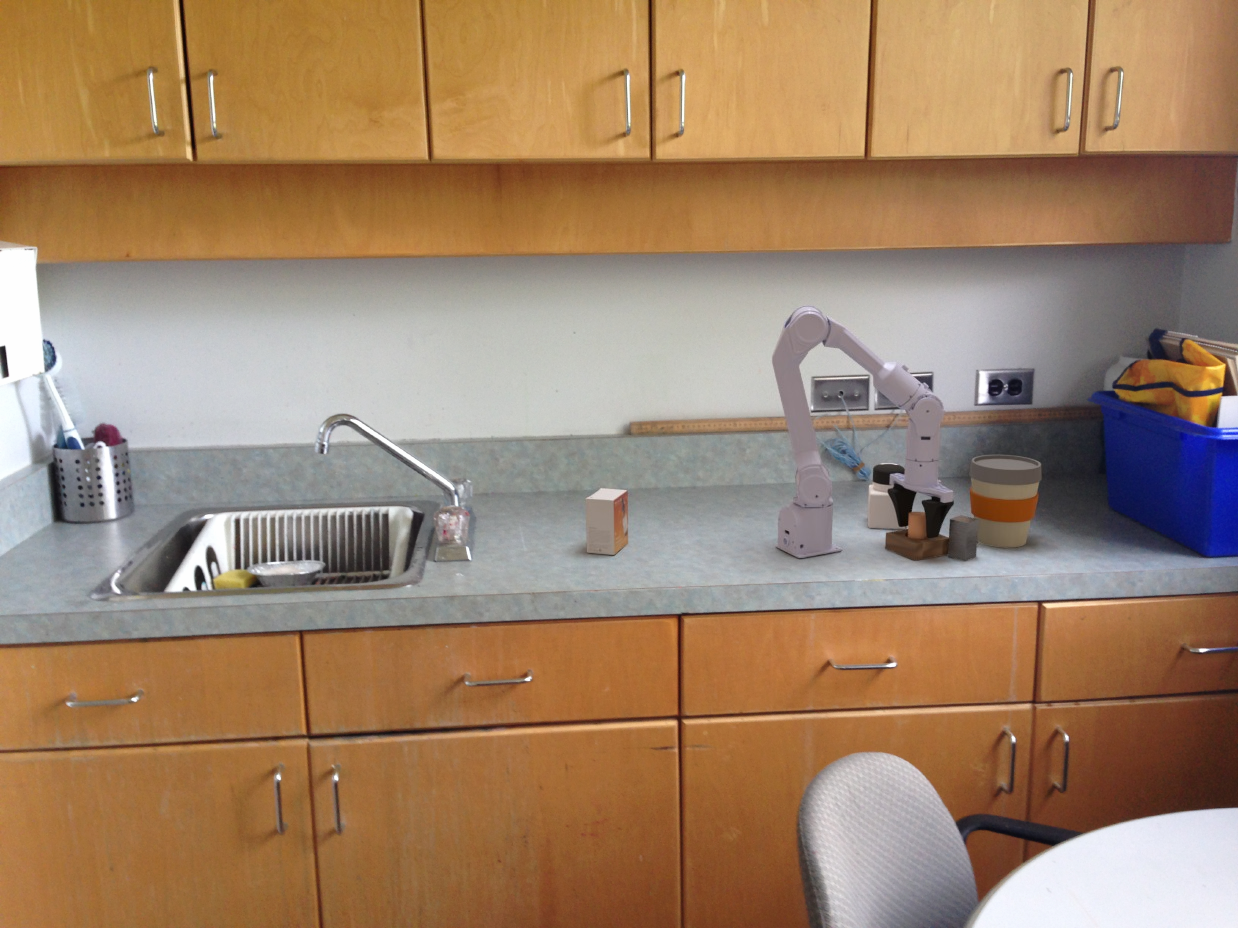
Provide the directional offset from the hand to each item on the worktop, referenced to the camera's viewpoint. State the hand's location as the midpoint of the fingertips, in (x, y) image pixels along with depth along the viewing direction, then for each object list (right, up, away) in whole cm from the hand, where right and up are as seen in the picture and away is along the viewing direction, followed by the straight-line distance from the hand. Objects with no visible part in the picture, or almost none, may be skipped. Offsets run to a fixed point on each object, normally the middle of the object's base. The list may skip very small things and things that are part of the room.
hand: (918, 531), depth 187 cm
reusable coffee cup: (+17, -2, +6) cm, 19 cm away
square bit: (+7, -4, -2) cm, 9 cm away
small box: (-56, -4, +6) cm, 57 cm away
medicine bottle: (-1, 0, +18) cm, 18 cm away
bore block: (0, -4, +1) cm, 4 cm away
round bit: (0, -4, +1) cm, 4 cm away
